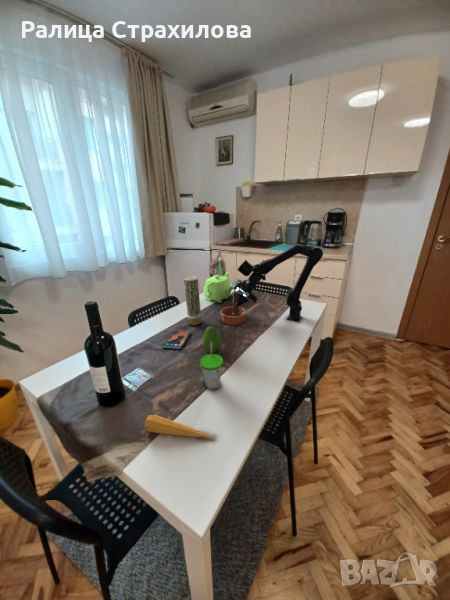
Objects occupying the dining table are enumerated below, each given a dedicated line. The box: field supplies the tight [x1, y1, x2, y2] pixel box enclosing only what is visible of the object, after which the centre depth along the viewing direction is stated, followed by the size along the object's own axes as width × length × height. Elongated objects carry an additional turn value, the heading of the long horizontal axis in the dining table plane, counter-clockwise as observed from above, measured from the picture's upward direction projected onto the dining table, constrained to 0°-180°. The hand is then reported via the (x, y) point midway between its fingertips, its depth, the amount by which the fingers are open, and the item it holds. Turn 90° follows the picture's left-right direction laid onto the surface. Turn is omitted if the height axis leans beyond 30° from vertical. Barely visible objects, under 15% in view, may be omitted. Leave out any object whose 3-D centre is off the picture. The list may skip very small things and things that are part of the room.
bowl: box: [220, 305, 246, 326], centre depth 127 cm, size 13×13×5 cm
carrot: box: [143, 414, 215, 439], centre depth 65 cm, size 20×4×4 cm, turn 79°
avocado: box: [201, 325, 222, 354], centre depth 100 cm, size 8×8×12 cm
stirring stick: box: [232, 291, 240, 316], centre depth 124 cm, size 4×4×14 cm
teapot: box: [203, 271, 234, 303], centre depth 154 cm, size 25×22×16 cm
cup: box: [199, 342, 224, 391], centre depth 80 cm, size 8×8×15 cm
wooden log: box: [183, 275, 202, 326], centre depth 121 cm, size 7×7×25 cm
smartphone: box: [163, 329, 192, 350], centre depth 111 cm, size 8×1×15 cm
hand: (233, 305), depth 124 cm, fingers closed on stirring stick, 3 cm apart
